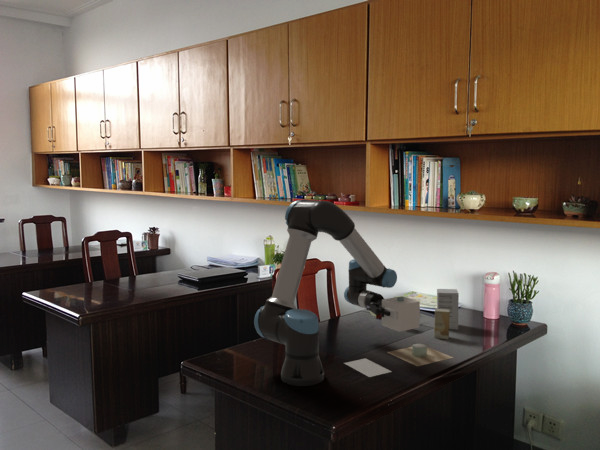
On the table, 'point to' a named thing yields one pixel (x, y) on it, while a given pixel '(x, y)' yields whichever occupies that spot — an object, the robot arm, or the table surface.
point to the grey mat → (367, 367)
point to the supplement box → (449, 304)
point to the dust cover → (402, 313)
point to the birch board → (418, 361)
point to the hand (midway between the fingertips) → (408, 313)
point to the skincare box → (441, 324)
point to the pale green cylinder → (419, 350)
